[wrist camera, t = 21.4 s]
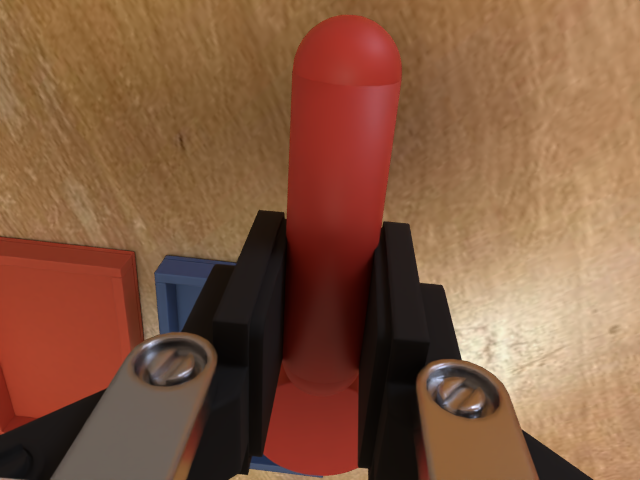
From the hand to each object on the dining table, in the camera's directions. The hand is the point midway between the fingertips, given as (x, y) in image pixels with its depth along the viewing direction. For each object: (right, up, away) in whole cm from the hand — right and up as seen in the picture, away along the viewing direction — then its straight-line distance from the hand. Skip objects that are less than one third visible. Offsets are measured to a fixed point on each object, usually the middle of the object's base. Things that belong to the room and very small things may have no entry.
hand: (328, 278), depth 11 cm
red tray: (-16, -6, +21) cm, 27 cm away
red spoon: (0, 0, 0) cm, 0 cm away
